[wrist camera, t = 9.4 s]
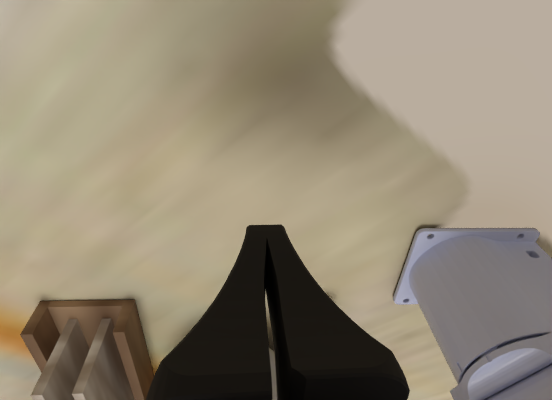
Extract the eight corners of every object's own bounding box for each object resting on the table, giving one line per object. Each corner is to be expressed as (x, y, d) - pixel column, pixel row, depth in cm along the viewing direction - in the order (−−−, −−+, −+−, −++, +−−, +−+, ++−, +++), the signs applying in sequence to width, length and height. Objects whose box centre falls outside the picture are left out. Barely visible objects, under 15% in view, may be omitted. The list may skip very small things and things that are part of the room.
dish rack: (328, 296, 30) (346, 371, 25) (308, 395, 39) (318, 466, 34) (40, 301, 28) (-10, 384, 23) (89, 404, 37) (62, 481, 32)
